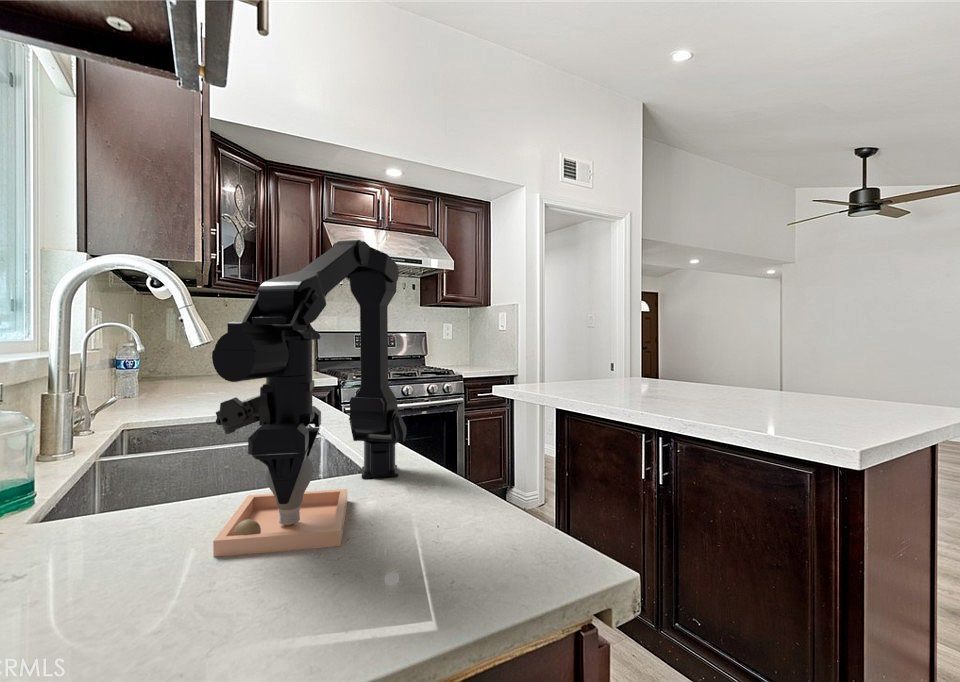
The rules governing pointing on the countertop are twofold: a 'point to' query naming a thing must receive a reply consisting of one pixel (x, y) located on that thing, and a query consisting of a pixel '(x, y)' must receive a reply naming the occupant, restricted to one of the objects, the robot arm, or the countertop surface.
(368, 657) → the countertop surface
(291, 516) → the light bulb
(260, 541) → the dish
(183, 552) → the countertop surface
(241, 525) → the cork ball
